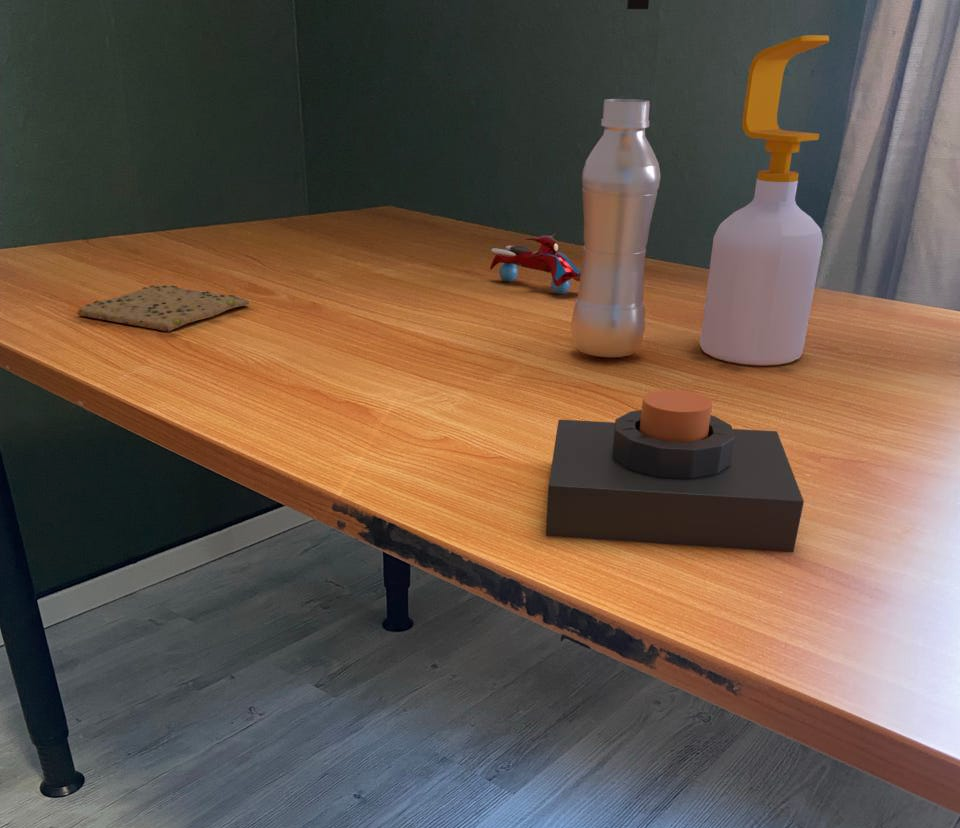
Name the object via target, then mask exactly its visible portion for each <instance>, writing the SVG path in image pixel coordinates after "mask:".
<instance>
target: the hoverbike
mask: <svg viewBox="0 0 960 828" xmlns="http://www.w3.org/2000/svg"><path fill="white" fill-rule="evenodd" d="M555 235H556V233H552V234H551V235H541V236H540V237H537V238H535V237H528V238H526V239H525V241H534V242H537V243H539V244H540V247H539V248H538V250H536V251H532V250H531V249H529V248H528V247H527V246H526V245H524V244H518V245H506V246H505V249H501V248H495V247H494V248H491V249H490V252H491V254H493V255H494V256H493V258H492V261H491V264H490V268H489V270H490V271H491V270H493V269H494V268H495V267H496V266H497V265H498V264H501V265H500V267H499V270H498V272H499V273H498V275H499V277H500V278H501V280H502V281H504V282H506V283H509V282H512V281H514V280H515V279H516V278H517V276H518V272H519V271H518V270H519V269H518V267H517V266H519V267H522V268H526V269H529V270H536V271H541V272H545V273H548V274H550V275H551V277H552V279H551V282H550V287H551V289H552V291H553V292H554V293H555V294H559V295H563V294H566V293H567V292H568V291H569V290H570V287H571V279H572V280H574V281H575V282H580V276H581V270H580V269H579V267H577V265H575V264H574V263H573V262H572V261H571V259H570V258H569V256H567V255H566V254H564V253H563V252H561V251H559V243H558V241H557V240H556V239H555V238H554V237H555Z"/></svg>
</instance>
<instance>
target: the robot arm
mask: <svg viewBox="0 0 960 828" xmlns="http://www.w3.org/2000/svg"><path fill="white" fill-rule="evenodd" d="M649 3H650V0H627V2H626V10H649V6H650V5H649Z"/></svg>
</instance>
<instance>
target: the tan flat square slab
mask: <svg viewBox="0 0 960 828" xmlns="http://www.w3.org/2000/svg"><path fill="white" fill-rule="evenodd" d="M249 305H250V303H249V300H248V299H247V298H244V297H241V296H240V297H239V296H236V295H233V294H229V295H227V294H221V293H215V292H210V291H208V290H207V291H201V290H192V289H188V288H184V287H178V286H175V285H157V286H155V285H150V286H148V287H147V286H143V287H142V288H141V289H138V290H135V291H132V292H130V293H127V294H123V295H121V296H119V297H112V298H107V299H104V300H100V301H99V300H95V301H94V302H92V303H91V304H90V303H87V304H85V306H83V307H81V308H78V310H77V316H80V317H88V318H92V319H97V320H104V321H108V322H115V323H120V324H124V325H131V326H136V327H143V328H148V329H152V330H153V329H154V330H159V331H164V332H170V331H172V330H174V329H177V328H180V327H182V326H184V325H187V324H189V323H193V322H196V321H199V320H204V319H208V318H211V317H214V316H217V315H219V314H222V313H224V312H225V311H228V310H231V309H235V308H238V307H244V306H245V307H246V306H249Z"/></svg>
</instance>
